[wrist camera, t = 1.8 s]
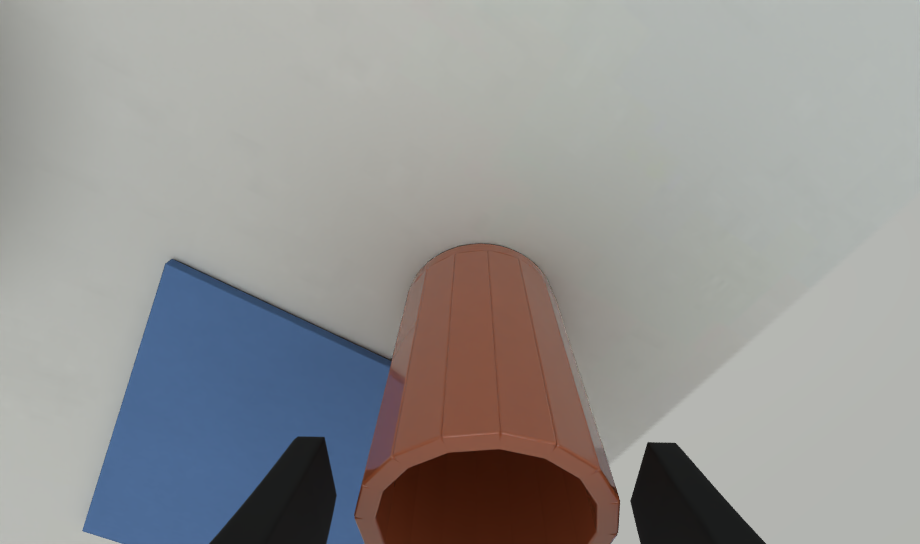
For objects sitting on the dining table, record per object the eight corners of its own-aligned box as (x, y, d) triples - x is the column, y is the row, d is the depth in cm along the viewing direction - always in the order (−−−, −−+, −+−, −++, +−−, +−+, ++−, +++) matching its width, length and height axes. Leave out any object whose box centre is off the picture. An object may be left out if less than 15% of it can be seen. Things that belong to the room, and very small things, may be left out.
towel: (172, 258, 15) (164, 263, 15) (488, 406, 18) (488, 413, 18) (87, 523, 23) (81, 531, 22) (321, 597, 26) (319, 605, 25)
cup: (576, 332, 16) (656, 557, 9) (453, 384, 18) (441, 616, 11) (512, 215, 14) (552, 393, 7) (377, 285, 16) (301, 491, 9)
